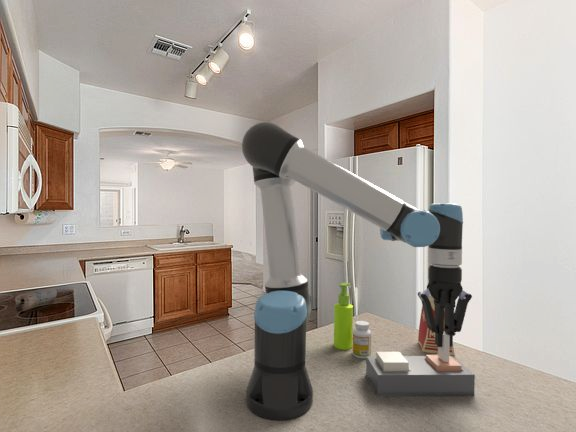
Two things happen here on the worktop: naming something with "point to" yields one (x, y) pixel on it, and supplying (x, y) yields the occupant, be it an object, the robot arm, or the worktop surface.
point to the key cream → (392, 362)
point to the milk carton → (428, 334)
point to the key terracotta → (443, 364)
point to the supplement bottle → (361, 340)
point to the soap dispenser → (343, 320)
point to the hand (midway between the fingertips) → (443, 359)
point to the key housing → (420, 379)
